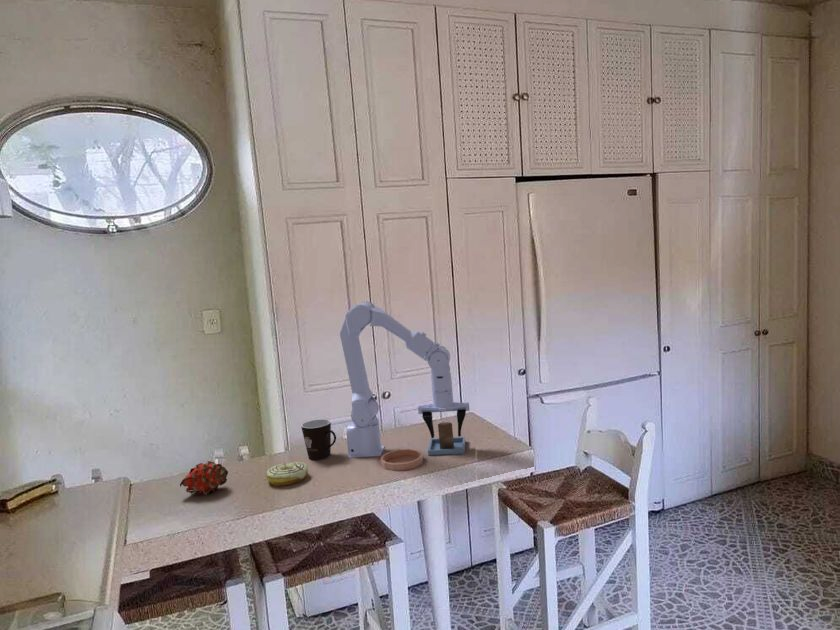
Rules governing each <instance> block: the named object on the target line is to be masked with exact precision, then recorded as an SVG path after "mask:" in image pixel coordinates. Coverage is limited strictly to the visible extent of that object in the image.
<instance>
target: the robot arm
mask: <svg viewBox="0 0 840 630" xmlns="http://www.w3.org/2000/svg"><path fill="white" fill-rule="evenodd" d="M368 325H369V326H370V327H382V328H383V329H385V330H387V331H388V332H389V333H392V334H393V336H394V335H395V336H396V337H397V338H399V339H401V340H403V341H404V342H405V346H406V348H407V349H408V350H409V351H411V352H412V353H413V354H415V355H416V356H417V357H419V358H421V359H422V360H423V361H427V364H428V366H429V368H430V373H431V374H430V381H431V390H432V391H431V392H432V394H431V395H432V402H433V403H428V404H421V405H418V406H417V409H418V410H417V412H418V415H422V416H421V417H422V419H423V421H424V422H425V425H426V426H427V428H428V430H429V433H430V437H431V438H430V439H435V430H434V423H433V422H434V421H433V420H434V419H433V413H442V412H443V413H445V412H456V420H457V437H462V428H463V427H462V426H463V424H464V423H463V422H464V420H465V417H466V414H467V412H470V402H469V401H468V402H459V401H458V402H456V401H455V402H454V395H453V383H452V382H453V381H452V372H451V366H450V360H451V355H450V352H449V350H448V349H447V348H446V347H445V346H442V345H441V344H440V343H438V342H436V343H435V342H434V341H433V340H432V339H430V338H429V337H427V333H425V332H424V331H422V332H420V331H411V330H410V329H408V328H407V327H406V326H405V325H403V324H402V323H400V322H399V321H398V320H397V319H395V318H394V317H393V316H391V315H390V314H389V313H388V312H386V311H385V310H384V309H382V308H381V307H379V306H375V304H373V303H372V302H370V301H362V302H360V303H359V304H355V305H353V306H352V307H351V308H350V309H349V310H348V311H347V312H346V313H345V317H344V320H343V323H342V326H341V328H340V329H341V330H340V332H339V337H340V341H341V346H342V350H343V356H344V360H345V365H346V369H347V370H346V371H347V373H348V378H349V379H348V380H349V384H350V387H351V392H352V393H351V394H352V396H351V401H350V402H351V407H352V409H351V412H350V418H351V421H352V422H353V423H349V424H347V427H346V443H347V452H348V453H347V454H348V458H349V459H350V458H362V457H363V458H365V457H367V458H368V457H380V456H382V453H383V452H384V448H385V445H382V442H381V433H380V431H381V430H380V423H379V419H378V417H377V414H378V412H379V408H380V407H379V403H378V401H377V400H376V399H375V397H374V393H373V390H371V388H370V385H369V380H368V375H367V370H366V366H365V362H364V357H363V356H364V355H363V352H362V347H361V343H360V338H359V337H360V335H361V334H362V332H363V331H364V330H365V329H366V327H367V326H368Z"/></svg>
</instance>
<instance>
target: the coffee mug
mask: <svg viewBox="0 0 840 630" xmlns="http://www.w3.org/2000/svg"><path fill="white" fill-rule="evenodd" d="M331 424H332V421H331V420H330V419H325V418H320V419H319V418H318V419H317V418H316V419H312V420H308V421H307V420H306V422H303V423H301V424H300V426H301V431H302V435H303V436H302V437H303V439H304V445H305V448H306V452H307V457H308V459H309V461H323V460H326V459H328V458H329V457H331V455H332V454H331V452H332V451H331V448H332V447H333V445H335V443H336V442H337V441H336V440H337V436H336V433H335V432H334V431H333V430H332V425H331ZM331 434H332V435H333V440H332V442H331V439H332V438H331Z"/></svg>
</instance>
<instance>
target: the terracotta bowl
mask: <svg viewBox="0 0 840 630" xmlns="http://www.w3.org/2000/svg"><path fill="white" fill-rule="evenodd" d="M379 461H380V466H381V467H382V468H383V469H384V470H388V471H389V470H390V471H405V470H410V469H414V468H417V467H419V466H420V465H422V464H423V462H424V453H423V452H421V451H420V450H419V449H413V448H403V449H396V450H391V451H388V452H386V453H384V454H383V455H382V454H381V457H380V460H379Z"/></svg>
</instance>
